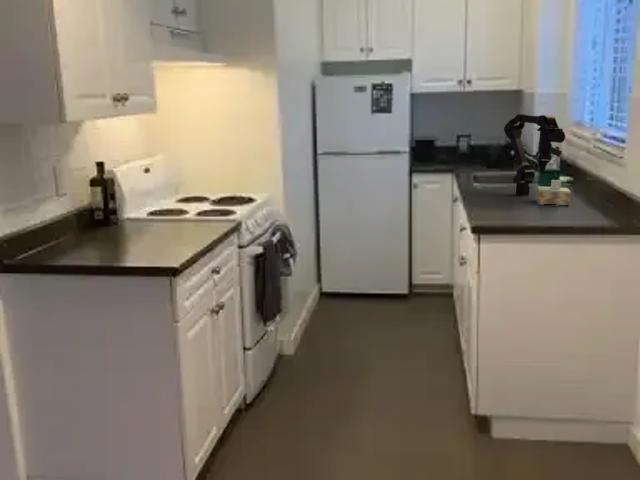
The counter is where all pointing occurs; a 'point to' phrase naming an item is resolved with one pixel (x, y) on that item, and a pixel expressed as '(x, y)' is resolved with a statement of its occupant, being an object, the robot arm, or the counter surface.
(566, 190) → the lid
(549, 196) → the box
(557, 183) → the block
